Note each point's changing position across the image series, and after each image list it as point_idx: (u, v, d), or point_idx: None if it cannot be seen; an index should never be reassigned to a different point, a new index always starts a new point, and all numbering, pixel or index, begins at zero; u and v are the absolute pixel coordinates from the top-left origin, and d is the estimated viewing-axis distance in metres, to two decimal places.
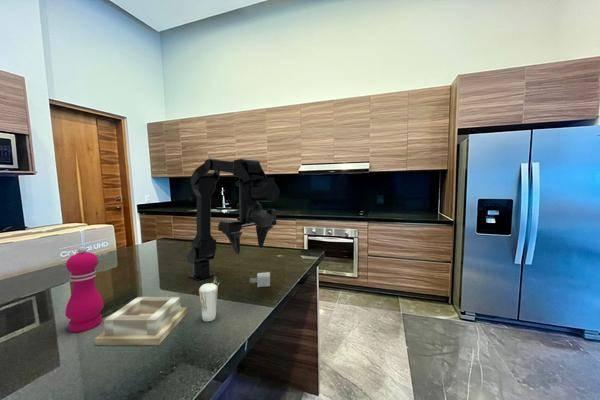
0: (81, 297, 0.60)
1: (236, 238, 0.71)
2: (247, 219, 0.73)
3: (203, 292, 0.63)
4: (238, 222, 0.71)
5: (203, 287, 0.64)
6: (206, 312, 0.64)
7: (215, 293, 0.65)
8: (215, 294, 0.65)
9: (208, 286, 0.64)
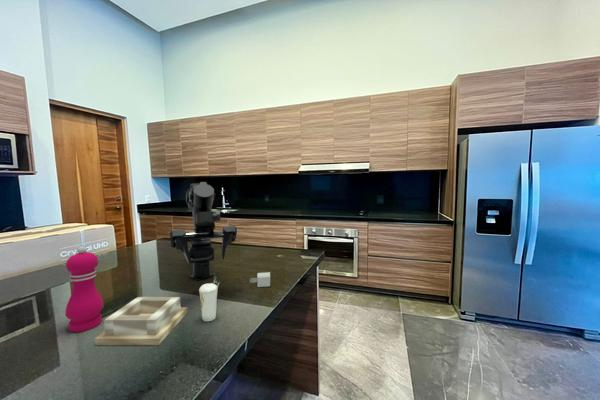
0: (81, 297, 0.60)
1: (183, 244, 0.71)
2: (194, 227, 0.75)
3: (203, 292, 0.63)
4: (182, 229, 0.73)
5: (203, 287, 0.64)
6: (206, 312, 0.64)
7: (215, 293, 0.65)
8: (215, 294, 0.65)
9: (208, 286, 0.64)
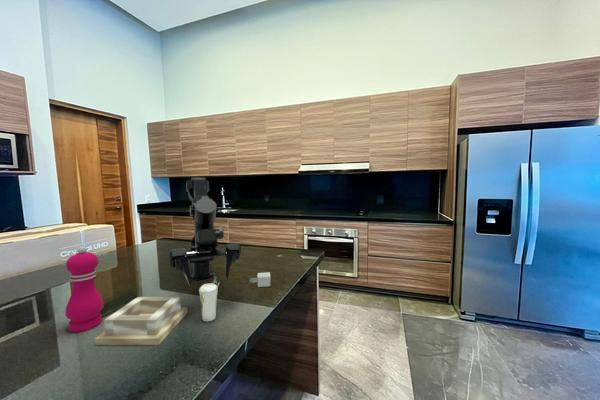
0: (81, 297, 0.60)
1: (183, 265, 0.66)
2: (195, 245, 0.70)
3: (203, 292, 0.63)
4: (183, 248, 0.68)
5: (203, 287, 0.64)
6: (206, 312, 0.64)
7: (215, 293, 0.65)
8: (215, 294, 0.65)
9: (208, 286, 0.64)
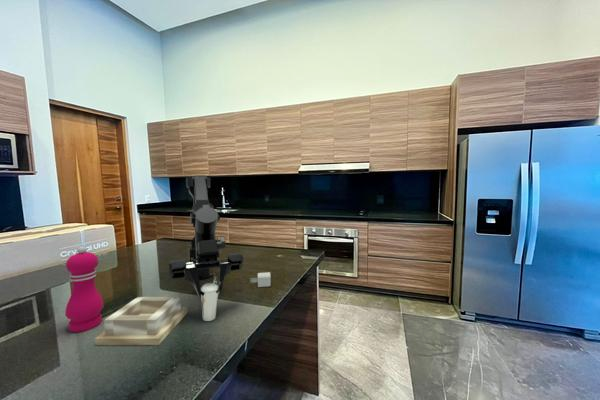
0: (81, 297, 0.60)
1: (192, 276, 0.64)
2: (196, 256, 0.67)
3: (204, 291, 0.63)
4: (183, 259, 0.66)
5: (204, 286, 0.64)
6: (206, 312, 0.64)
7: (216, 293, 0.65)
8: (216, 294, 0.65)
9: (209, 286, 0.64)
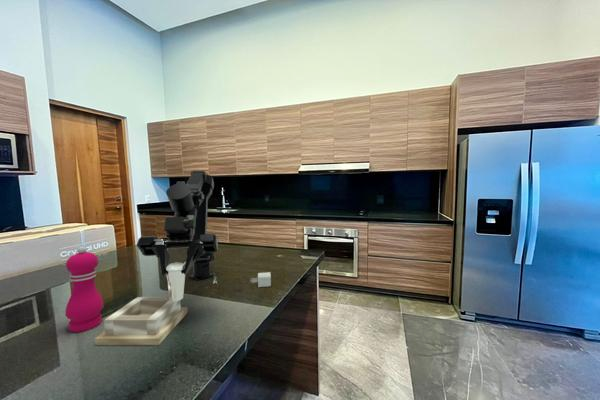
0: (81, 297, 0.60)
1: (159, 254, 0.62)
2: None
3: (168, 269, 0.60)
4: (153, 236, 0.64)
5: (169, 265, 0.61)
6: (171, 291, 0.61)
7: (181, 273, 0.61)
8: (181, 274, 0.61)
9: (175, 265, 0.61)
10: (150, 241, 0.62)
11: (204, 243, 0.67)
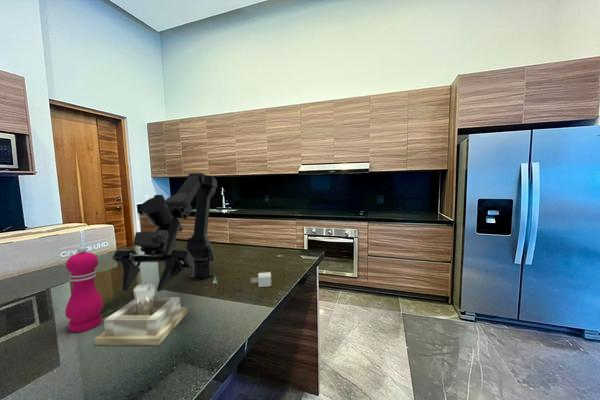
0: (81, 297, 0.60)
1: (124, 268, 0.62)
2: None
3: (134, 290, 0.60)
4: (129, 249, 0.64)
5: (137, 286, 0.61)
6: (138, 313, 0.60)
7: (147, 294, 0.60)
8: (147, 295, 0.60)
9: (142, 285, 0.61)
10: (124, 255, 0.63)
11: (177, 259, 0.65)
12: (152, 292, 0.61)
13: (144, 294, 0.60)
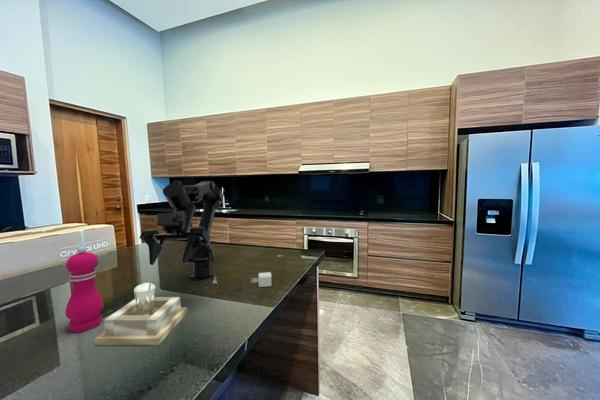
0: (81, 297, 0.60)
1: (149, 245, 0.72)
2: None
3: (134, 291, 0.60)
4: (153, 230, 0.74)
5: (137, 286, 0.61)
6: (138, 313, 0.60)
7: (147, 295, 0.60)
8: (147, 296, 0.60)
9: (142, 286, 0.61)
10: (149, 234, 0.72)
11: None
12: (152, 293, 0.61)
13: (144, 295, 0.60)
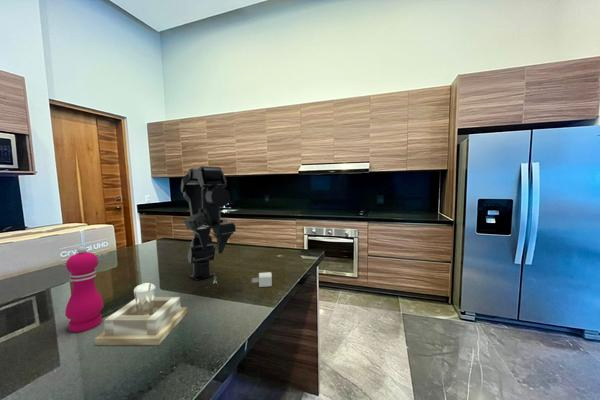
0: (81, 297, 0.60)
1: (197, 234, 0.86)
2: None
3: (134, 291, 0.60)
4: None
5: (137, 286, 0.61)
6: (138, 313, 0.60)
7: (147, 295, 0.60)
8: (147, 296, 0.60)
9: (142, 286, 0.61)
10: None
11: None
12: (152, 293, 0.61)
13: (144, 295, 0.60)
